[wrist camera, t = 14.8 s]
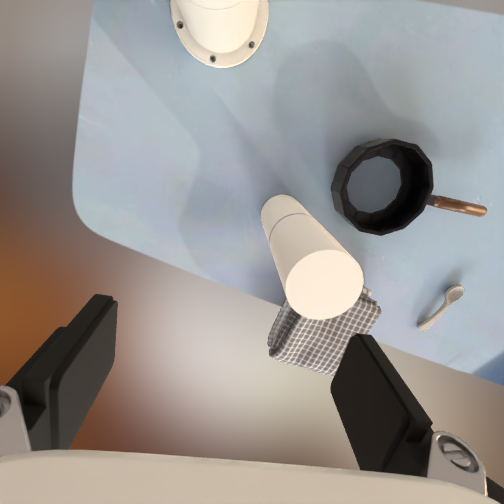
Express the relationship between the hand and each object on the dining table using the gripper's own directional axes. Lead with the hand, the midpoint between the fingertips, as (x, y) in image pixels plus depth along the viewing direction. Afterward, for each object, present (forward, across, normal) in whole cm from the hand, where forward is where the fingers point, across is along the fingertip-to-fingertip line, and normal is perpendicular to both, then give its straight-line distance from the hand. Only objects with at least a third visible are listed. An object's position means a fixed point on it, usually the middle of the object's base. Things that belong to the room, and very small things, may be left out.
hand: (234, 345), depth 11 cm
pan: (+38, -29, -5) cm, 48 cm away
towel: (+38, -21, +21) cm, 49 cm away
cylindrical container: (+38, -9, +3) cm, 40 cm away
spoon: (+38, -45, +15) cm, 61 cm away
